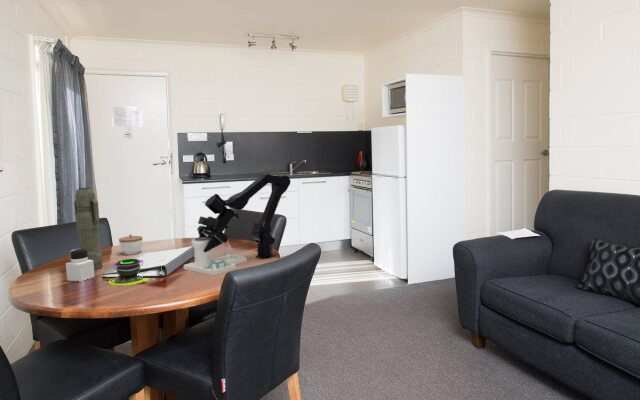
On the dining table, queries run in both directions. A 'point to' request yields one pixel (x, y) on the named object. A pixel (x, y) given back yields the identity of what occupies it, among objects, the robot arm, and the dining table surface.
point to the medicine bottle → (79, 266)
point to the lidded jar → (131, 244)
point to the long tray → (208, 270)
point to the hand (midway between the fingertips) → (200, 250)
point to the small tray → (232, 259)
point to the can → (202, 253)
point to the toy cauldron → (128, 272)
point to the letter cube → (217, 264)
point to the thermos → (88, 224)
